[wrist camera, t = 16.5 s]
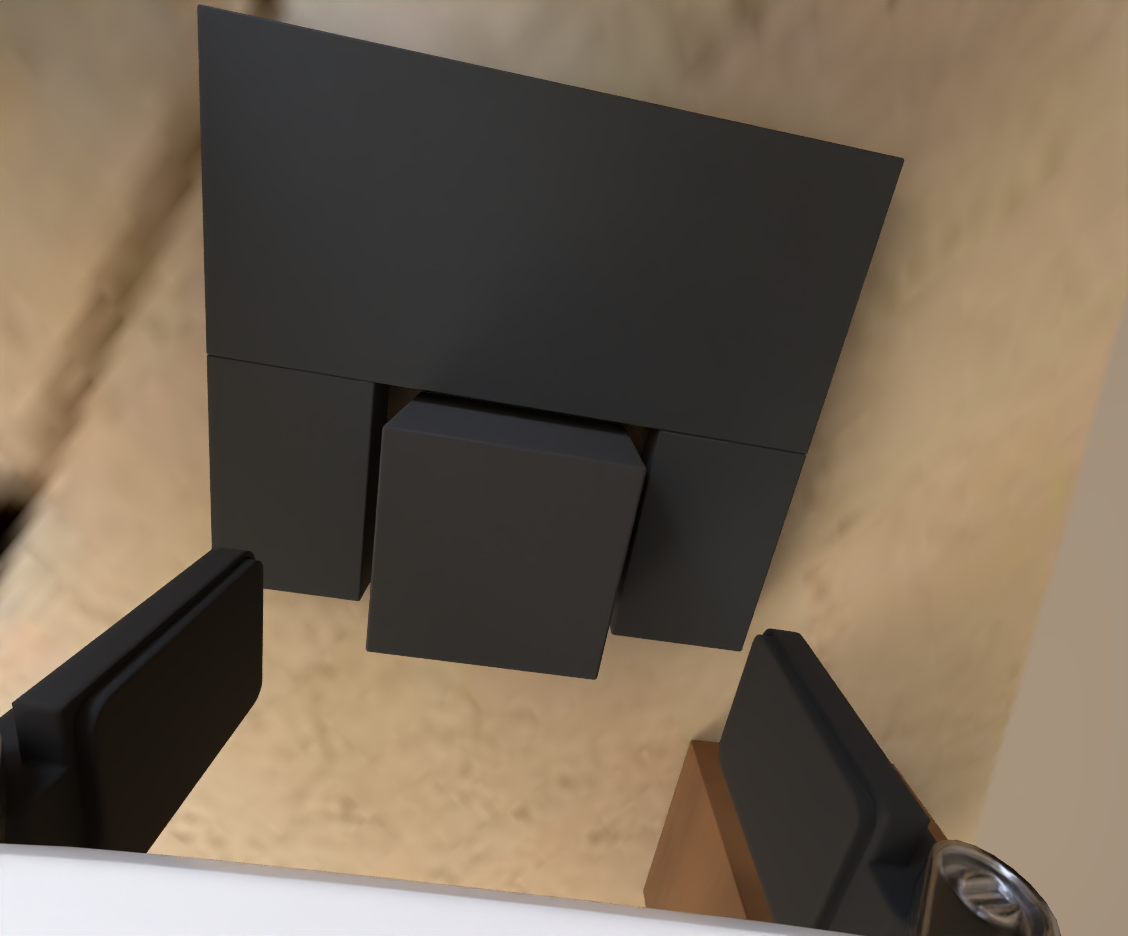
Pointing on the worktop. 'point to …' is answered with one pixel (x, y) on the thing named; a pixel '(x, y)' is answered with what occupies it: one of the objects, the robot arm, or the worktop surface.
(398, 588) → the black squat block
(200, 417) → the worktop surface
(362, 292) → the black u-shaped block
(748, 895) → the brown wooden block
